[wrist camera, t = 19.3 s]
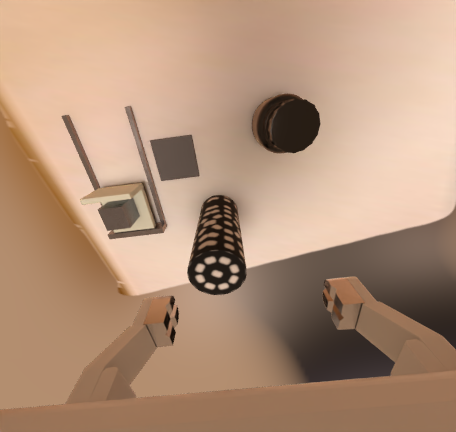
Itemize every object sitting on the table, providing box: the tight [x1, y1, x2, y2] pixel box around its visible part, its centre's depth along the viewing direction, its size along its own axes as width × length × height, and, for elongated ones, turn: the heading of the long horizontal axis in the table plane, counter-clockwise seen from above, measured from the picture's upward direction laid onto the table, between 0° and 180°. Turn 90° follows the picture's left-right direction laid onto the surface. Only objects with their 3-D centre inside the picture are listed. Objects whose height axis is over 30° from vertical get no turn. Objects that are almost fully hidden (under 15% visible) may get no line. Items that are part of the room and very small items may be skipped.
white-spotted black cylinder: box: [187, 195, 246, 295], centre depth 37 cm, size 8×8×20 cm
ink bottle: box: [252, 94, 320, 153], centre depth 33 cm, size 10×9×12 cm
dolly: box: [80, 183, 156, 233], centre depth 41 cm, size 10×9×8 cm
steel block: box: [98, 198, 140, 231], centre depth 40 cm, size 4×4×5 cm
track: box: [62, 107, 167, 239], centre depth 41 cm, size 25×12×3 cm, turn 7°
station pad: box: [150, 135, 199, 181], centre depth 40 cm, size 8×8×1 cm
